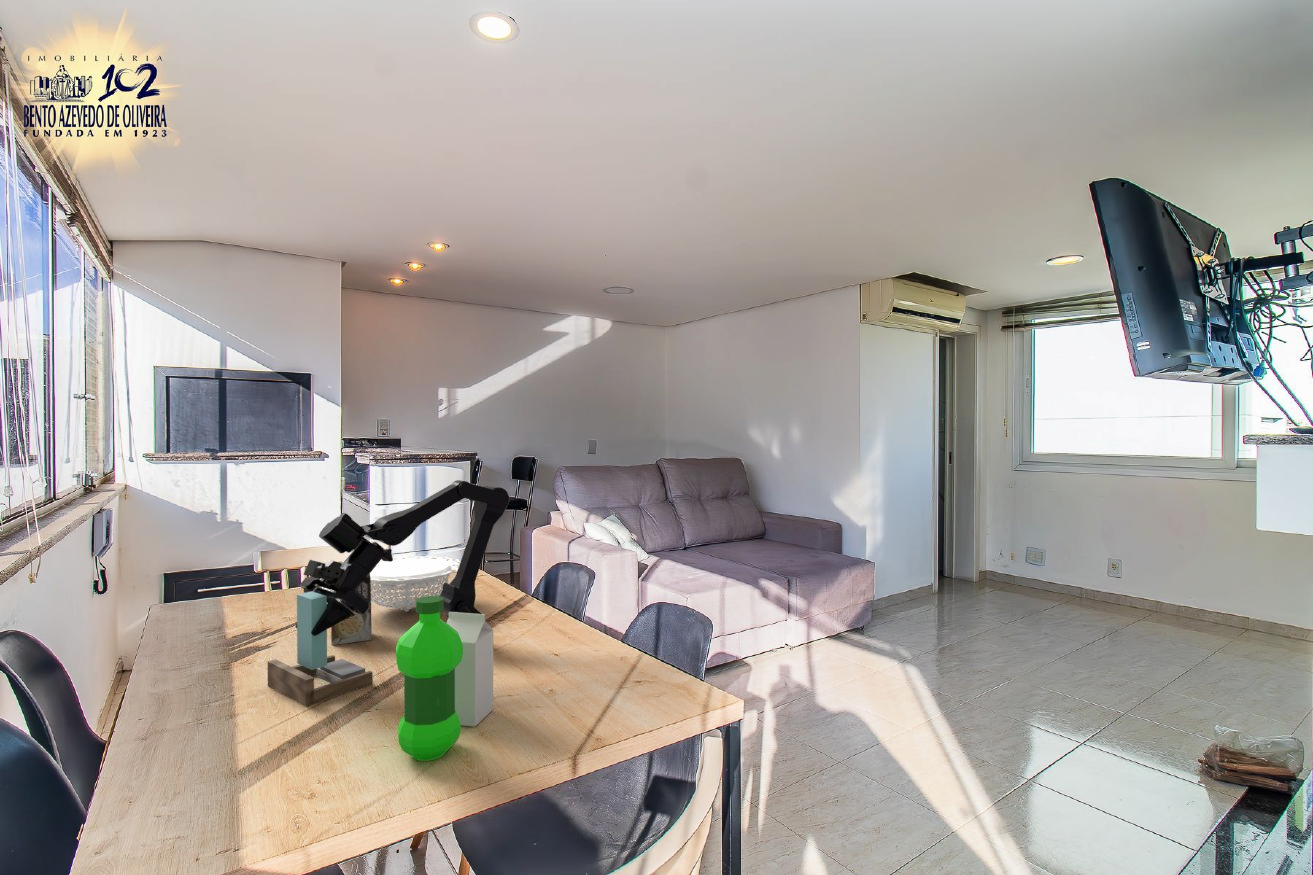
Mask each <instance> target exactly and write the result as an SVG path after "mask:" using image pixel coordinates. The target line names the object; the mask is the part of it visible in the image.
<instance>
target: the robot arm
mask: <svg viewBox="0 0 1313 875" xmlns="http://www.w3.org/2000/svg"><path fill="white" fill-rule="evenodd" d="M463 499H466V500H470V501H473V502H474V505H473V510H474V521H473V524H472V526H471V529H470V533H469V536H468V538H467V542H466V545H465V548H464V550H463V553H462V556H461V558H460V559H461V560H460V561H461V562H460V565H459V568H458V571H457V572H456V574H455V577H454V578H453V579H452V580H451V582H448V583H446V582H445V581H444V583H443V588H442V592H441V593H440V594H439V595H440V596H439V597H443V611H441V612H443V614H445V615H446V618H447V619H448V618H449V612H458V613H472V614H483V613H482V612H481V611H479V610H478V609H477V608H476V607H475V604H476V603H475V601H476V595H477V593H476V580H477V577H478V573H479V571H480V569H481V564H482V563H483V559H484V556H485V554H486V550H487V546H488V544H489V541H490V538H491V536H492V532H493V530H494V526H495V524H496V523H497V522H498V521H499V520H500V519H501V518H502V517H503V515H504V513H505V511H506V509H507V508H508V505H509V503H510V495H509V492H508V491H507V490H506V489H505V488H504V487H499V486H493V485H484V486H481V485H477V484H474V483H471V482H469V481H465V480H462V479H461V480H459V479H457V480H455V481H453V482H452V483H451V484H449V485H448V486H445V487H443V489H440V490H439V491H437V492H435V493H433V494H431V495H430V496H428V497H427V498H425V499H423V500H421V501H419V502H418V503H416V504H414V505H413V506H411V507H409V508H407V509H403V510H401V511H399V510H398V511H395V512H392V513H390V514H387V515H385V516H382V517H380V518H377V519H376V520H375V521H374V522H373V523H370V524H365V525H362V526H361V525H359V524H358V523H357V522H356V521H354V520H353V518H352V517H351V516H350V515H349V514H348V513H346V512H342V513H341V514H340V515H339V516H337V517H335V518H334V519H333V520H331V521H330V522H327V523H326V525H325V526H324V527H323V528H322V529H321V530H320V532H319V534H318V537H319V538H320V539H321V540H323V542H325V543H326V544H327V545H328V546H330V547H331V548H333V549H334V550H335V551H336V552H338V553H339V554H344V553H347V554H348V553H349V555H348V557H347V558H346V559H345V560H344V562H343V561H335V560H332V559H329V560H328V561H327V562H326V563H325V562H321V561H318V560H313V559H309V561H308V563H307V566H306V568H305V570H304V572H303V575H304V576H307V577H305V578H304V579H303V580H302V581H301V582H300V584H299V585H298V586H299V587H300V588H302V589H303V593H307V592H315V593H318V594H321V595H325V596H327V609H326V610H325V612H324V613H323V614H322V616H321V617H320V619H319V620H318V622H317V623H316V625H315V626H314V628H313V630H312V631H311V634H312V635H314V636H316V635H318V634H320V633H322V632H323V631H325V630H327V631H328V629H331V627H332V626H334V625H336V624H337V623H339V622H341V621H343V620H345V619H347V618H349V617H351V616H355V614H354V613H353V612H354V610H355V612H356V613H357V614H360V615H363V616H364V615H365V613H366V612H367V611H368V610H369V608H370V601H368V600H367V599H366V598H365V597H364V596H362V595H361V594H360V593H359V592H357V591H356V590H357V589H358V588H359V587H360V585H361V584H362V583H365V584H367V583H368V582H369V579H368V578H367V577H368V575H369V574H370V573H371V572H372V570H373V569H374V568H375V567H376V565H377V564H378V563H379V562H380V560H383V561H389V562H392V561H393V558H394V557H393V554H392V551H393V550H392V548H386V549H385V548H384V547H383V546H382V545H380V544H379V543H378V542H380V543H382V544H384V545H387V546H392V547H395V546H398V545H400V544H401V543H403V542H404V541H405V540H406V539H408V538H409V537H410V536H411V535H412V534H413V533H414V532H415V531H416V530H417V528H418V527H420V525H422V524H423V523H425V522H426V521H428V520H430V519H431V518H433V517H435V516H437V515H439V514H440V513H441V512H443V511H445V510H447V509H448V508H450V507H451V506H454V505H455V504H457V503H458V502H460V501H462V500H463ZM367 538H369V539H371V540H373V541H372V542H370V541H369V540H368V539H367ZM294 627H295V629H297V623H296V624H295V626H294Z"/></svg>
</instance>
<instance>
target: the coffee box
mask: <svg viewBox="0 0 1313 875" xmlns="http://www.w3.org/2000/svg"><path fill="white" fill-rule="evenodd" d="M367 578H368V579H369V582H368V583H367V584H365V583H362V584H361V585H360V587H359V588H358V589H357V590H356V591H357V592H359V593H360V594H361V595H362V596H364V597H365V598H366V599H367V600H368V601H370V608H369V610H368V611H367V612H366V613H365V615H364V616H363V615H360V614H357V613H356V612H355V610H354V612H353V613H354V614H355V616H351V617H349V618H347V619H345V620H343V621H341V622H339V623H337V624H336V625H334V626H332V627H330V645H331V646H337V645H343V644H350V643H357V642H364V641H371V640H372V639H373V633H372V628H373V627H372V601H371V594H372V592H371V578H370V574H369V575H368V577H367Z"/></svg>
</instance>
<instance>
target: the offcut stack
mask: <svg viewBox="0 0 1313 875" xmlns="http://www.w3.org/2000/svg"><path fill="white" fill-rule="evenodd" d="M365 672H366V667H365V668H364V667H363V666H360V665H358V664H356V663H353V662H350V661H348V660H346V659H343V658H340V659H337V660H335V661H333V662H330V663H327V666H324V667H321V668H317V672H316V673H315V674H316V677H318V678H320V679H322V680H324V681H326V682H329V684H330V683H333V682H337V681H340V680H343V679H346V678H349V677H352V676H355V675H359V674H362V673H365Z"/></svg>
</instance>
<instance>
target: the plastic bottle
mask: <svg viewBox="0 0 1313 875" xmlns="http://www.w3.org/2000/svg"><path fill="white" fill-rule="evenodd" d="M418 598H419V597H418ZM415 611H416V614H419V617H418V618H419V620H418V621H416V623H415V624H414V625H413V626H411V627H410V628H409V629H407V631H406V632H405V633H404V634H402V636H400V637H399V638H398V641H397V642H396V646H395V658H396V659H395V661H396V665H397V669H398V671H399V672H400V673H401V674H403V676H404V677H403V678H404V679H403V680H404V682H403V683H404V685H403V687H404V688H403V689H404V690H403V691H404V692H403V693H404V699H403V700H404V701H403V702H404V705H403V707H404V708H403V710H404V711H403V712H404V713H403V716H402V717H401V719H400V721H399V724H398V726H397V735H398V737H397V738H398V744H399V746H400V749H401V751H403V753H405V754H407V755H408V756H411V757H412V758H413V759H415V760H417V761H420V762H428V761H433V760H434V761H435V760H437V759H439V758H442V757H443V756H444V755H445V754H446V753H447V751H448V750H449V749H450V748H451V747H453V745H455V743H456V742H457V741H458V740H459V738H460V735H461V731H462V725H461V724H460V720H459V717H458V714H457V712H456V710H455V668H456V667H457V666H458V664H459V663H460V662H461V660H462V656H463V644H462V641H461V639H460V636H459V634H458V632H457V631H456V630H455V629H453V628H452V627H451V626H450V625H448V624H447V622H445V621H444V620H442V619H441V612H442V611H443V597H439V596H431V595H430V596H427V597H421V598H419V599H417V600H416V608H415Z"/></svg>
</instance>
